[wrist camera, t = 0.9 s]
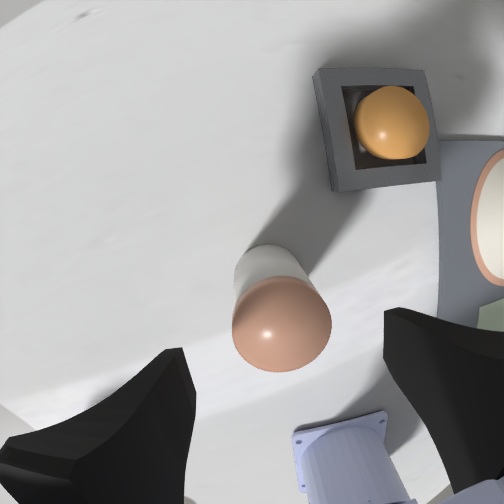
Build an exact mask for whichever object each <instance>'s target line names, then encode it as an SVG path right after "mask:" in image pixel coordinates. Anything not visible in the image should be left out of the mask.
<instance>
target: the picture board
mask: <svg viewBox="0 0 504 504" xmlns="http://www.w3.org/2000/svg"><path fill="white" fill-rule="evenodd" d="M438 146H439V154H440V162H441V171H442V181H436V188H437V200H438V217H439V294H438V311H437V318H439V319H442V320H445V321H449V322H452V323H456V324H460V325H464V326H468V327H473V328H478V329H485V330H491V331H501V332H504V141H477V140H456V141H438Z"/></svg>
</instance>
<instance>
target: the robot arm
mask: <svg viewBox="0 0 504 504" xmlns="http://www.w3.org/2000/svg"><path fill="white" fill-rule="evenodd" d="M383 359H384V361H385V363H386V365H387V367H388V369H389V371H390V373H391V375H392V377H393V379H394V380H395V382H396V383H397V385H398V386H399V388H400V389H401V390H402V392H403V393H404V395H405V396H406V397H407V399H408V400H409V402H410V403H411V405H412V406H413V407H414V409H415V410H416V412H417V413H418V414H419V416H420V417H421V419H422V421H423V422H424V424H425V425H426V427H427V429H428V431H429V433H430V435H431V437H432V439H433V441H434V443H435V445H436V448H437V450H438V452H439V455H440V457H441V459H442V462H443V464H444V466H445V469H446V472H447V475H448V477H449V480H450V483H451V486H452V489H453V492H454V495H453V496H451V497H448V498H446V499H445V500H442V501H440V502H438V503H436V504H504V332H501V331H491V330H485V329H478V328H473V327H468V326H464V325H460V324H456V323H452V322H449V321H445V320H442V319H439V318H435V317H432V316H429V315H426V314H423V313H420V312H416V311H413V310H410V309H406V308H401V307H397V308H394V309H390V310H386V311H384V349H383ZM195 415H196V390H195V387H194V384H193V381H192V378H191V375H190V372H189V368H188V365H187V362H186V359H185V356H184V352H183V349H182V347H181V348H172V349H165V350H164V351H163V352H161V353H160V354H159V355H158V356H157V357H155V358H154V359H153V360H152V361H151V362H150V363H149V364H148V365H147V366H146V367H144V368H143V369H142V370H141V371H140V372H139V373H138V374H137V375H135V376H134V377H133V378H132V379H131V380H129V381H128V382H127V383H126V384H124V385H123V386H122V387H121V388H119V389H118V390H117V391H116V392H114V393H113V394H112V395H110V396H109V397H107V398H106V399H104V400H103V401H101V402H100V403H98V404H96V405H95V406H93V407H91V408H90V409H88V410H86V411H84V412H82V413H80V414H78V415H76V416H74V417H72V418H70V419H68V420H65V421H63V422H61V423H58V424H56V425H53V426H50V427H47V428H44V429H41V430H38V431H34V432H30V433H26V434H22V435H17V436H12V437H9V438H8V439H7V441H6V442H5V444H4V445H3V446H2V448H1V449H0V483H1V485H2V486H3V487H4V488H5V489H6V490H7V492H8V493H9V494H10V495H11V496H12V497H13V498H14V499H15V500H16V501H17V502H18V503H19V504H184V482H185V470H186V463H187V457H188V452H189V447H190V442H191V437H192V432H193V426H194V421H195ZM387 419H388V414H387V412H386V411H379V412H376V413H373V414H369V415H366V416H362V417H358V418H355V419H351V420H347V421H343V422H339V423H335V424H331V425H326V426H322V427H317V428H312V429H308V430H302V431H297V432H295V433H293V434H292V442H293V449H294V456H295V463H296V470H297V478H298V485H299V491H300V492H301V493H307V497H308V502H309V504H418V503H417V501H416V499H412V500H411V499H410V497H409V495H408V493H407V491H406V489H405V487H404V485H403V483H402V481H401V479H400V477H399V474H398V472H397V470H396V468H395V466H394V464H393V462H392V460H391V458H390V456H389V454H388V452H387V450H386V448H385V446H384V441H385V434H386V427H387ZM298 440H300V441H298Z"/></svg>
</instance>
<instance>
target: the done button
mask: <svg viewBox="0 0 504 504" xmlns="http://www.w3.org/2000/svg"><path fill="white" fill-rule="evenodd" d="M353 125H354V131H355V134H356V137H357V139H358V141H359V142H360V144H361V145H362V146H363V148H364V149H365V150H366V151H368V152H369V153H370V154H372V155H373V156H375V157H377V158H381V159H386V160H391V159H406V158H410V157H413V156H415V155H417V154H418V153H420V152H421V151H422V149H423V148H424V147H425V145H426V143H427V140H428V137H429V119H428V116H427V113H426V110H425V108H424V106H423V105H422V103H421V102H420V101H419V99H418V98H417V97H416V96H415V95H414V94H412V93H411V92H410V91H408V90H406V89H404V88H402V87H398V86H385V87H382V88H380V89H378V90H376V91H374V92H373V93H371V94H369V95H367V96H366V97H364V98H363V99H362V100H361V101H360V102H359V103H358V105H357V107H356V109H355V112H354V117H353Z"/></svg>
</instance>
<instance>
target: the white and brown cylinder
mask: <svg viewBox="0 0 504 504" xmlns="http://www.w3.org/2000/svg"><path fill="white" fill-rule="evenodd" d="M331 328H332V321H331V315H330V312H329V309H328V307H327V305H326V304H325V302H324V301H323V299H322V297H321V296H320V294H319V293H318V291H317V290H316V288H315V287H314V285H313V284H312V282H311V281H310V279H309V278H308V276H307V275H306V273H305V272H304V270H303V269H302V267H301V266H300V264H299V263H298V261H297V260H296V259H295V257H294V256H293V255H292V254H291V253H290V252H289V251H288V250H286V249H284V248H282V247H280V246H276V245H260V246H257V247H254V248H252V249H250V250H249V251H247V252H246V253H245V254H244V255H243V256H242V257H241V258H240V260H239V261H238V263H237V265H236V268H235V273H234V292H233V317H232V337H233V342H234V345H235V347H236V349H237V351H238V352H239V354H240V355H241V356H242V358H243V359H244V360H246V361H247V362H248V363H249V364H251V365H252V366H254V367H256V368H258V369H261V370H264V371H269V372H288V371H292V370H296V369H299V368H301V367H303V366H305V365H307V364H309V363H310V362H312V361H313V360H314V359H315V358H316V357H317V356H318V355H319V354H320V353H321V352H322V351H323V349H324V348H325V346H326V345H327V343H328V340H329V338H330V334H331Z"/></svg>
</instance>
